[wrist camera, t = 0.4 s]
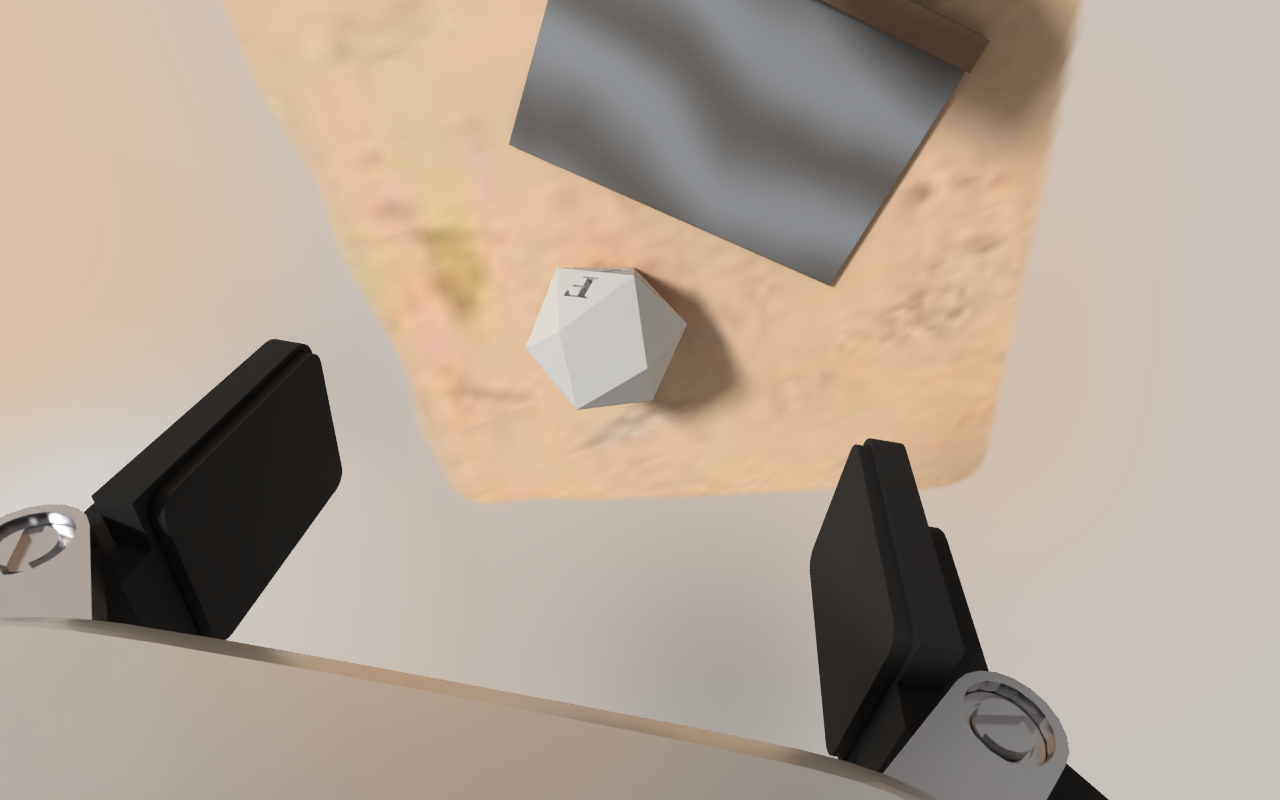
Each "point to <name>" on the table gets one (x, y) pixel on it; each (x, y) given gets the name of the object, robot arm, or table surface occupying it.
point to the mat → (744, 110)
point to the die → (605, 336)
